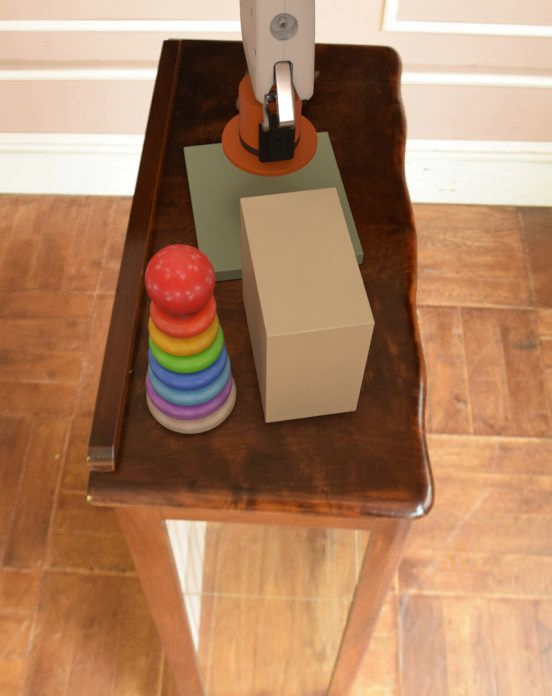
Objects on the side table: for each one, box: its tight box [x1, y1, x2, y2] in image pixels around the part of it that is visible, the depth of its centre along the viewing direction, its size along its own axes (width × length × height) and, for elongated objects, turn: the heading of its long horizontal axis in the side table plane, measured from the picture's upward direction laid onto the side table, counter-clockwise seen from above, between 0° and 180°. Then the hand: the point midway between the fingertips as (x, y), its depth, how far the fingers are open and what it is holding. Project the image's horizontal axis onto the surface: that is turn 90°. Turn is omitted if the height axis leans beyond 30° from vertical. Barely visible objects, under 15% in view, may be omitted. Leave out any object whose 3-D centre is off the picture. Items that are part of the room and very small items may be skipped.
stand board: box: [183, 131, 364, 282], centre depth 81 cm, size 16×18×2 cm
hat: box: [221, 74, 318, 177], centre depth 71 cm, size 9×9×6 cm
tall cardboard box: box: [240, 187, 376, 424], centre depth 66 cm, size 8×14×14 cm, turn 9°
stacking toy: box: [144, 243, 238, 435], centre depth 62 cm, size 8×8×19 cm
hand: (270, 133), depth 72 cm, fingers closed on hat, 5 cm apart
